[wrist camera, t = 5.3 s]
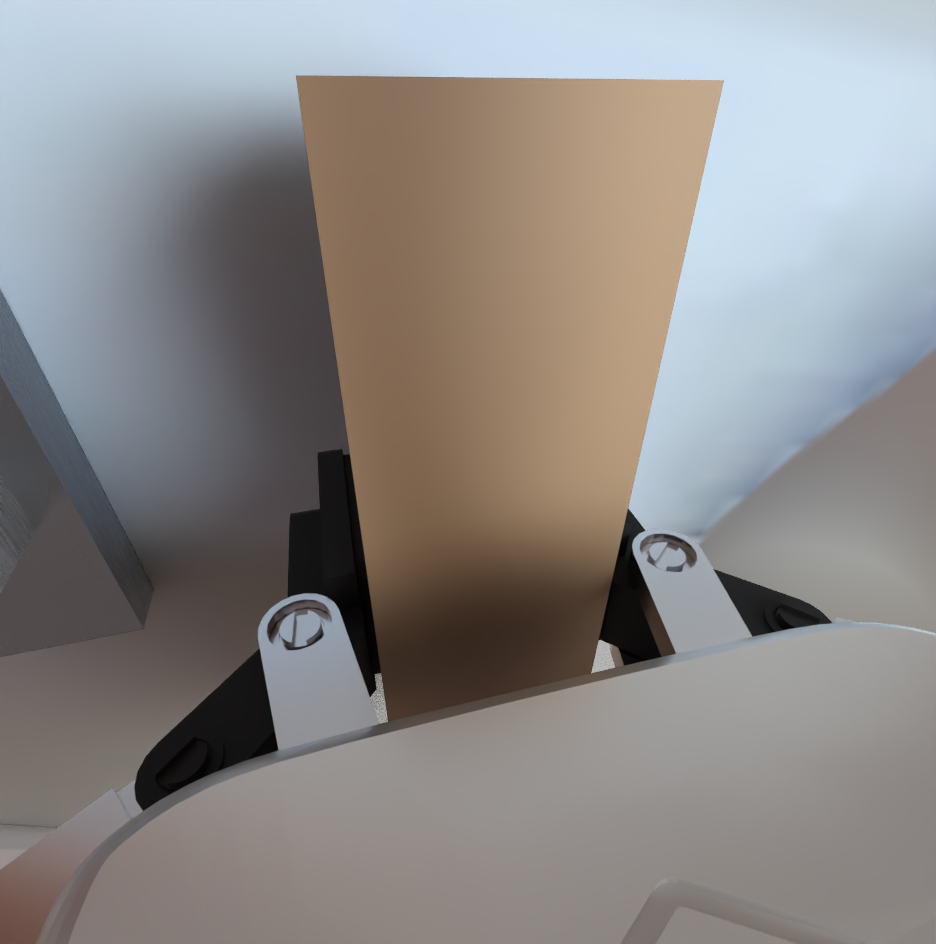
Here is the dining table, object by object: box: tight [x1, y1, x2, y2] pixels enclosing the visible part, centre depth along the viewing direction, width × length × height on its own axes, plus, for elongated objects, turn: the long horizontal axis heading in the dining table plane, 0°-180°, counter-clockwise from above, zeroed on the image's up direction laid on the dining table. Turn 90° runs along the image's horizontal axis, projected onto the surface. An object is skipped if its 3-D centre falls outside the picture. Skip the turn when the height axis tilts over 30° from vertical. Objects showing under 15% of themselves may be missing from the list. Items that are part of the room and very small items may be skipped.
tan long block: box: [296, 76, 724, 722], centre depth 11 cm, size 4×16×5 cm, turn 179°
